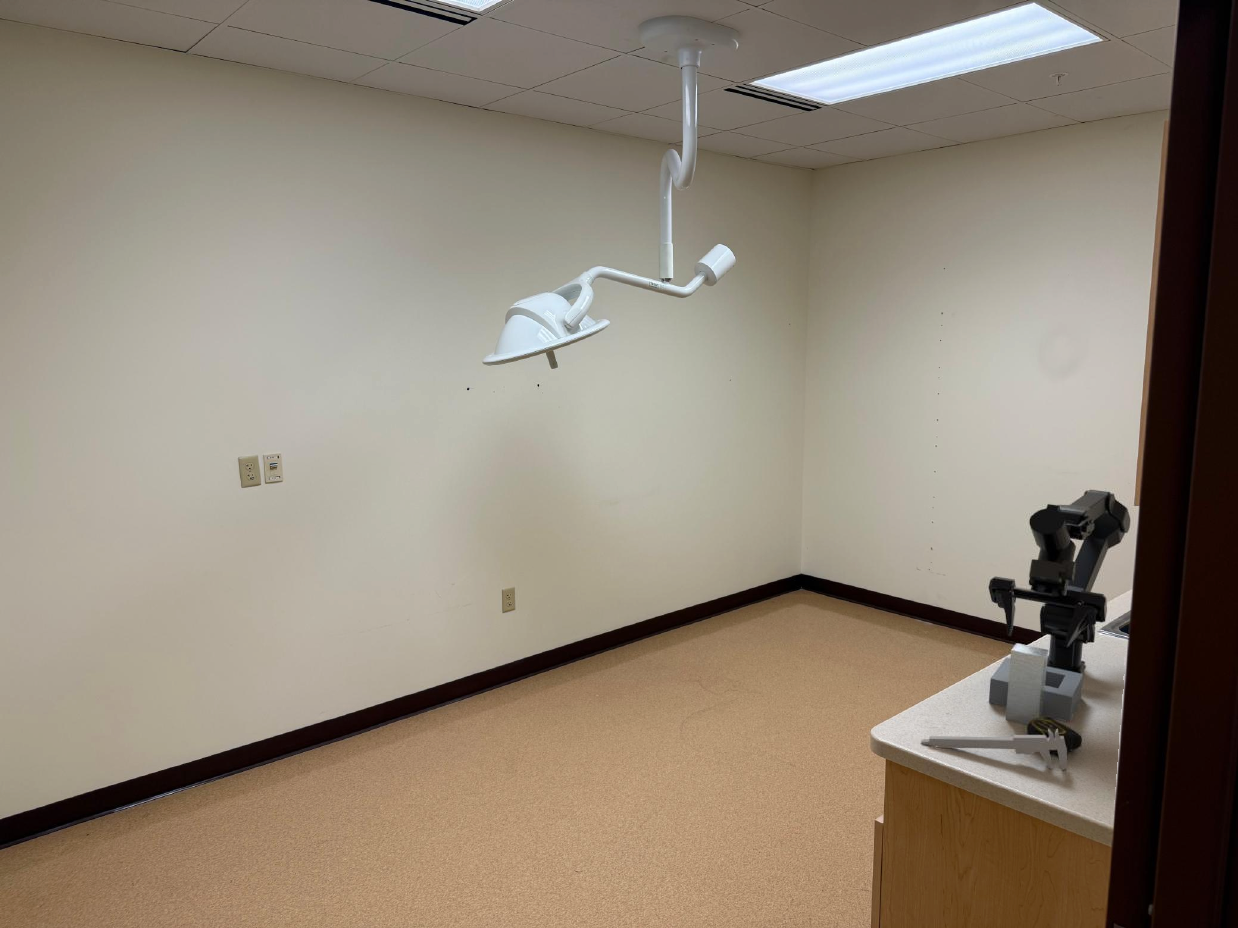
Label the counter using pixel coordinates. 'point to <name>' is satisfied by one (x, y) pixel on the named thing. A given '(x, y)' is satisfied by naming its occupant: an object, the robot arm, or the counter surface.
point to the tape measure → (1042, 726)
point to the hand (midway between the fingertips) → (1037, 640)
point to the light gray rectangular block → (1026, 683)
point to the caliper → (1008, 744)
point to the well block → (1058, 690)
